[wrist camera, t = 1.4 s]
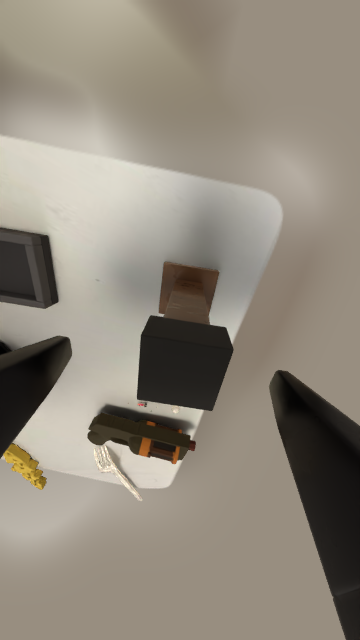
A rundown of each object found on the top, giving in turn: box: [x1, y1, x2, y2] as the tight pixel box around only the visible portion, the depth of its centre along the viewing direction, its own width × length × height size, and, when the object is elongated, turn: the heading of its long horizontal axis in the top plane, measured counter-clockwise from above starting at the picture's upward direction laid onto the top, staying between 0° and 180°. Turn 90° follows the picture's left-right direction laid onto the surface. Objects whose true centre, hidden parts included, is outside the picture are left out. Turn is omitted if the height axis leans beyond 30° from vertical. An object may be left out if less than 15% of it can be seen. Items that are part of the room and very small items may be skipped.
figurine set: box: [128, 402, 179, 413], centre depth 28 cm, size 1×8×1 cm
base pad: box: [0, 228, 58, 309], centre depth 19 cm, size 7×7×2 cm
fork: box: [94, 446, 142, 501], centre depth 38 cm, size 3×20×2 cm, turn 18°
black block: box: [137, 315, 233, 411], centre depth 10 cm, size 4×4×2 cm
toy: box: [4, 444, 46, 490], centre depth 39 cm, size 15×1×5 cm
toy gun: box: [88, 413, 196, 464], centre depth 30 cm, size 5×17×10 cm
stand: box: [159, 262, 219, 325], centre depth 15 cm, size 6×6×11 cm
